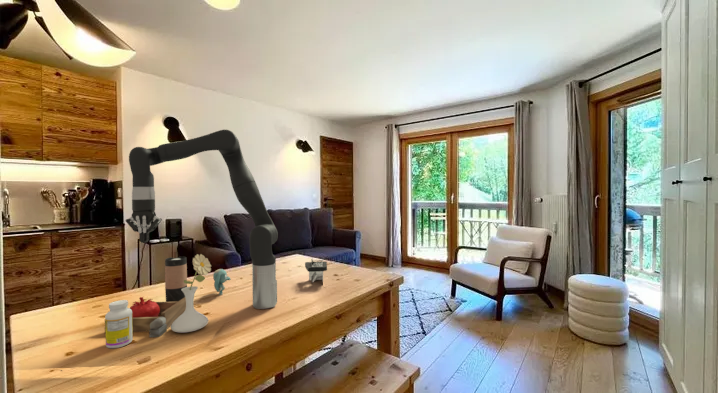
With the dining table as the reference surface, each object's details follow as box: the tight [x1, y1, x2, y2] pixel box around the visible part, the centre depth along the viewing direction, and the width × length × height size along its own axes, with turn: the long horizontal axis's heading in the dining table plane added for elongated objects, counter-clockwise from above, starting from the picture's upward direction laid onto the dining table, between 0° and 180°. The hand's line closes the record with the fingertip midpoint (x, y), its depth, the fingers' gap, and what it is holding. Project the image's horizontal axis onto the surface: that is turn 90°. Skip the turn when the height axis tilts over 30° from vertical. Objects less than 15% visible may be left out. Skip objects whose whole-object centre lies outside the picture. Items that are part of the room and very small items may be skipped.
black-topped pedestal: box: [304, 258, 328, 283], centre depth 158 cm, size 28×26×13 cm
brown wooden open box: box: [132, 297, 186, 338], centre depth 111 cm, size 20×21×6 cm
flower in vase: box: [170, 253, 212, 334], centre depth 108 cm, size 13×11×25 cm
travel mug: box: [164, 256, 188, 302], centre depth 127 cm, size 8×8×20 cm
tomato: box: [129, 296, 160, 318], centre depth 113 cm, size 10×10×9 cm
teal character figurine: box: [212, 268, 231, 296], centre depth 142 cm, size 11×7×12 cm
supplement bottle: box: [104, 299, 134, 349], centre depth 96 cm, size 7×7×13 cm
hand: (144, 242), depth 124 cm, fingers closed
